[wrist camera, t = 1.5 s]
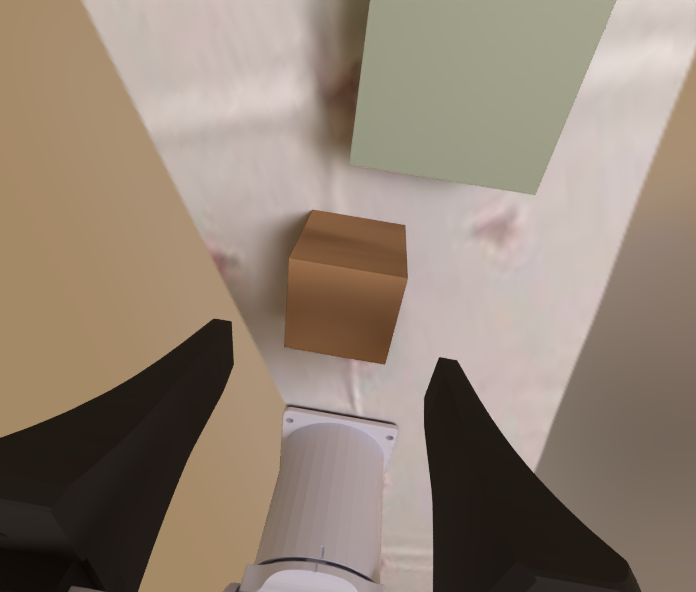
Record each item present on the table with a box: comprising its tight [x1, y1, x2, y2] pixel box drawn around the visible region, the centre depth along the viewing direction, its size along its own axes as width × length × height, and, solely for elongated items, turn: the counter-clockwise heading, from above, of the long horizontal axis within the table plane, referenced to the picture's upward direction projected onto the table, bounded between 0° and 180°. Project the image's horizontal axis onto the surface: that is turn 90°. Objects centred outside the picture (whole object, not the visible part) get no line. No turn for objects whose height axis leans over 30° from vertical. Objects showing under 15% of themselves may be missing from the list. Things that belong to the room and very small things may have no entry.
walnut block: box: [284, 210, 408, 365], centre depth 18 cm, size 4×4×5 cm
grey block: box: [349, 0, 616, 195], centre depth 13 cm, size 6×6×5 cm
